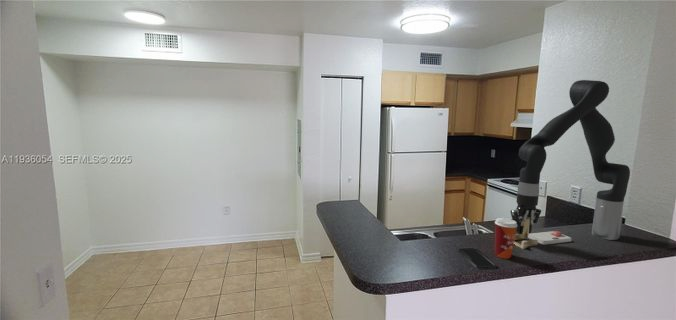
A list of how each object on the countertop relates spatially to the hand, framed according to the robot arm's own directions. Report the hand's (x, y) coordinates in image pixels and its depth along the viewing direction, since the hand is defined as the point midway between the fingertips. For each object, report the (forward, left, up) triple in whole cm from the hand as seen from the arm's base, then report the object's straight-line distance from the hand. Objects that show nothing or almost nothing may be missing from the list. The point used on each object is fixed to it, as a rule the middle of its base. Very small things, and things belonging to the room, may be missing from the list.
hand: (523, 232), depth 130 cm
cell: (0, 0, -1) cm, 1 cm away
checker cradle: (-14, 0, -5) cm, 14 cm away
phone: (+28, +7, -6) cm, 29 cm away
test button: (-18, 0, -5) cm, 19 cm away
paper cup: (+16, +7, -5) cm, 18 cm away
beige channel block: (0, 0, -5) cm, 5 cm away
